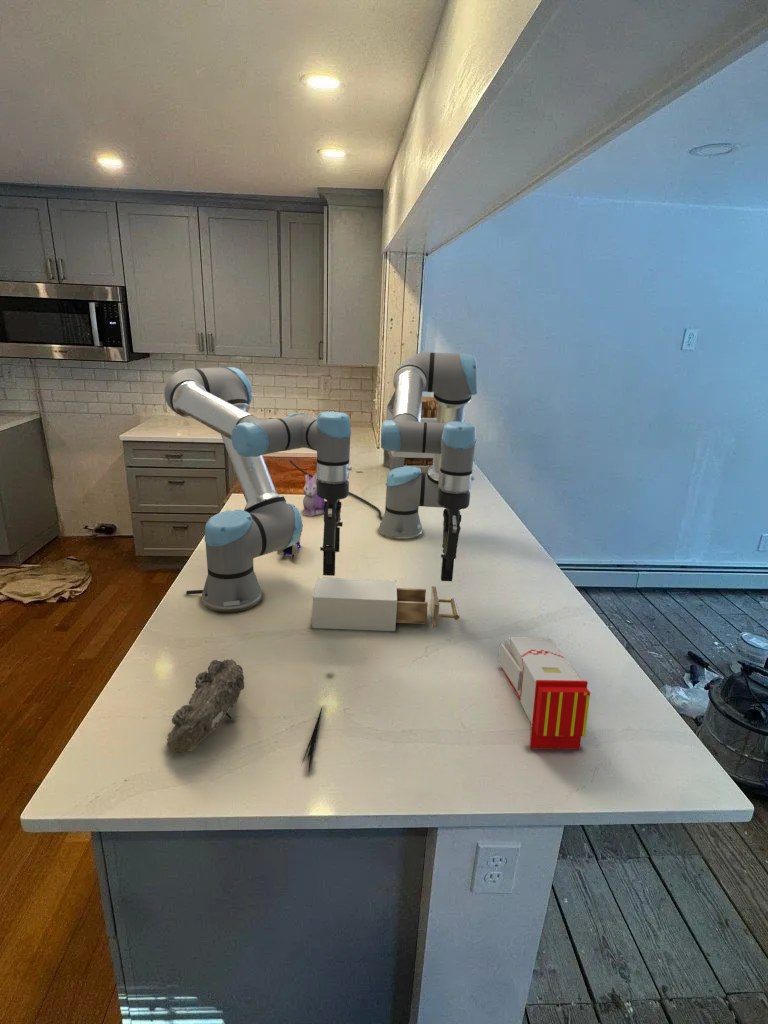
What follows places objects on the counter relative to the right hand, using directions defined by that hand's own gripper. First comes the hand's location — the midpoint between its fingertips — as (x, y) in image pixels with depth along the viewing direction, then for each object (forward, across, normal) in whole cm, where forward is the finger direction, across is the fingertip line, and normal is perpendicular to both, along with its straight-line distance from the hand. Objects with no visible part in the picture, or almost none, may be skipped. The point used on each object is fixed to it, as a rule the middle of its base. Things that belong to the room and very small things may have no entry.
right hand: (446, 579), depth 141 cm
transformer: (+12, +138, -2) cm, 139 cm away
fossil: (+12, -38, +48) cm, 62 cm away
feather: (+12, -38, +27) cm, 48 cm away
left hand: (-3, 0, +29) cm, 29 cm away
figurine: (+12, +77, +42) cm, 88 cm away
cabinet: (+12, 0, +22) cm, 25 cm away
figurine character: (+12, +39, +45) cm, 60 cm away
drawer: (+11, 0, +9) cm, 14 cm away
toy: (+12, -30, -16) cm, 36 cm away
